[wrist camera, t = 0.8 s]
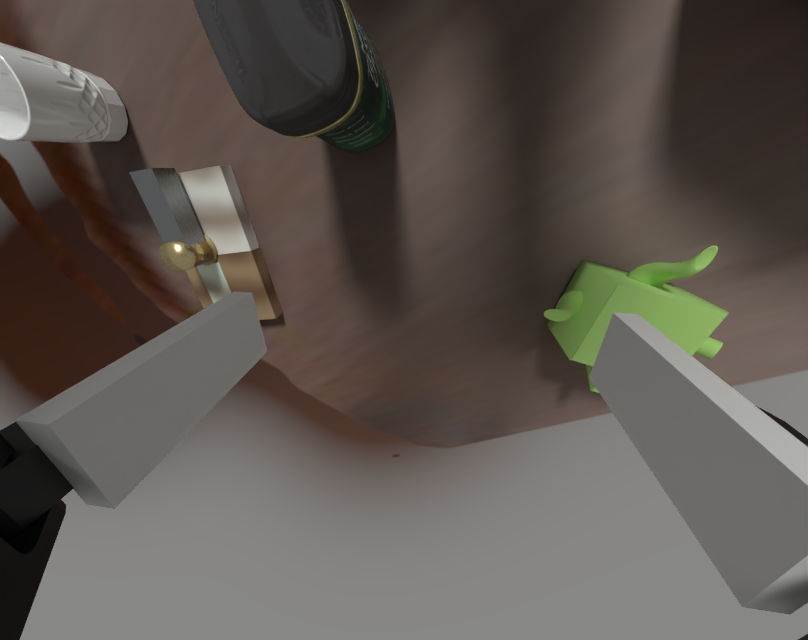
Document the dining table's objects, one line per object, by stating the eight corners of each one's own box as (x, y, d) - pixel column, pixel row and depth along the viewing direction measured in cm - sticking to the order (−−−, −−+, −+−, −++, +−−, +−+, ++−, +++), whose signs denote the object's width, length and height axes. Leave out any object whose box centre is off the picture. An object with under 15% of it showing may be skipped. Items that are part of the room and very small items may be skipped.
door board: (156, 179, 38) (113, 180, 33) (230, 165, 36) (196, 165, 31) (219, 317, 46) (193, 334, 42) (282, 312, 45) (262, 330, 40)
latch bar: (216, 261, 39) (193, 270, 36) (193, 264, 40) (169, 273, 36) (176, 167, 34) (145, 167, 31) (151, 172, 35) (117, 172, 31)
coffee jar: (405, 134, 32) (361, 97, 16) (341, 161, 34) (242, 152, 18) (374, 22, 28) (272, -184, 12) (304, 59, 30) (133, -73, 14)
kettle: (520, 279, 38) (546, 318, 28) (642, 216, 33) (727, 236, 23) (564, 364, 42) (601, 423, 32) (677, 320, 37) (760, 374, 27)
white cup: (71, 49, 32) (-69, 4, 24) (139, 98, 34) (30, 73, 25) (66, 119, 36) (-59, 102, 27) (128, 161, 37) (29, 159, 28)
